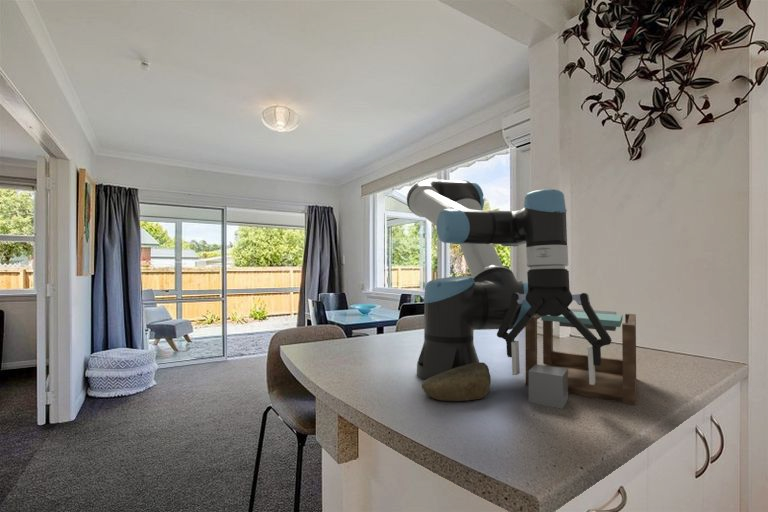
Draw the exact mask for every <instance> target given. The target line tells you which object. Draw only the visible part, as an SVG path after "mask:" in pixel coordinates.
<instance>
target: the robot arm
mask: <svg viewBox="0 0 768 512" xmlns="http://www.w3.org/2000/svg"><path fill="white" fill-rule="evenodd" d="M523 201H524V203H523V208H521V209H519V210H513V211H512V210H511V211H509V210H490V209H489V210H488V209H487V210H484V205H485V199H484V192H483V190H482V188H481V186H480V185H479V184H478V183H477V182H474V181H469V180H449V179H447V180H446V179H435V178H434V179H433V178H432V179H430V178H429V179H424V180H421V181H419V182H417V183H415V184H413V185H412V186H411V188H410V189H409V191H408V192H407V195H406V203H407V207H408V209H409V210H410V212H412V213H413V214H414V215H415V216H417V217H419V218H425V219H426V220H427V221H429V222H430V223H432V224H433V225H434V226H435V227H436V234H437V236H438V239H439V240H440V242H442V243H444V244H453V245H459V246H460V250H461V252H462V255H463V257H464V260H465V262H466V265H467V267H468V271H469V273H470V275H461V276H460V275H459V276H450V277H449V276H448V277H442V278H436V279H431V280H429V281H428V282H427V283H426V284H425V286H424V296H423V297H424V298H423V304H424V306H423V308H424V309H423V310H424V311H423V312H424V316H423V318H424V321H423V324H424V326H423V327H424V328H423V330H424V331H423V332H424V334H423V335H424V336H423V337H424V338H423V344H422V347H421V351H420V353H419V357H418V359H417V363H416V375H417V376H418V377H419V378H421V379H422V380H424V381H425V380H426V379H428V378H430V377H432V376H435V375H438V374H440V373H443V372H445V371H448V370H450V369H453V368H456V367H460V366H464V365H467V364H472V363H478V362H480V360H479V356H478V353H477V350H476V347H475V344H474V343H475V342H474V331H476V330H477V331H481V330H482V331H483V330H484V331H485V330H497V332H496V336H497V337H498V338H500V339H502V340H504V341H505V342H506V356H507V358H511V370H512V371H511V372H512V373H511V374H512V375H511V376H518V375H519V374H520V373H521V372H520V370H521V369H520V344H519V341H520V340H515V339H516V338H517V336H518V335H519V334H520V333H521V332H522V331H523V329H525V326H526V325H527V324H528V323H529V322H530V320H531V319H532V318H533V317H534V316H535V315H536V314H538V315H540V316H546V315H550V316H560V315H563V316H564V317H565V318H566V319H567V320H568V321H569V322H570V323H571V324H572V325H573V326H574V327H573V328H575V329H576V330H577V331H578V332H579V333H580V334H581V335H582V336H583V338H584V339H585V340H586V341H587V342H588V343H589V344H590V345H588V347H587V355H588V366H589V384H590V385H594V384H595V382H596V380H595V365H598V366H600V364H601V357H602V349H601V347H604V346H608V345H611V343H612V342H613V341H612V338H611V336H610V335H609V332H608V330H606V329H605V328H604V326H603V325H602V323H601V321H600V320H599V318H598V316H597V315H596V313H595V311H594V309H593V307H592V305H591V302H590V297H589V296H590V295H589V294H588V293H587V292H581V293H579V294H578V293H576V294H572V292H571V290H570V271H569V270H568V269H567V268H566V267H568V266H569V251H568V250H569V249H568V246H569V245H568V233H567V232H568V230H567V212H568V211H567V207H566V201H565V195H564V193H563V192H562V191H561V190H559V189H552V188H550V189H548V188H547V189H539V190H538V189H537V190H533V191H530V192H527V193H526V195H525V197H524V200H523ZM524 244H525V245H526V246H525V247H526V267H528V268H529V269H528V270H527V272H526V275H527V282H525V281H523V280H520V281H518V280H517V279H516V277H515V275H514V272H513V271H512V270H511V269H510V268H508V267H506V266H504V265H503V263H502V261H501V259H500V256H499V255H498V252H497V250H496V248H495V246H494V245H501V246H503V247H514V248H515V247H519V246H520V245H524ZM573 301H575V302H576V303H577V305H578V306H581V307H582V310H584V311H585V313H586V314H587V316H588V318H589V319H590V321H591V323H592V324H593V326H594V328H595V329H594V330H595V331H596V333H597V334H598V336H599V338H598V337H596V335H595V334H594V333H593V332H592V331H590V330H591V329H588V328H587V327H586V326H585V325H584V324H583V323H582V322H581V321H580V320H579V319H578V318H577V317H576V316H575V315H574V313H573V312H572V311H571V310H570V309H571V308H569V306H570V304H572V302H573ZM509 330H510V331H509ZM508 331H509V332H508Z"/></svg>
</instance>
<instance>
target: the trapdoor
mask: <svg viewBox="0 0 768 512" xmlns="http://www.w3.org/2000/svg"><path fill="white" fill-rule="evenodd" d="M569 309H570V310H571V311H572V312H573V313H574V315H575V316H576V317H577V318H578V319H579V320H580V321H581V322H582V323H583V324H584V325H585V326H586V327H587V328H588V329H589V330H596V329H595V328H594V326H593V324H592V323H591V321H590V319H589V318H588V316H587V314H586V313H585V311H584V309H580V308H579V309H578V308H569ZM593 310H594V309H593ZM594 311H595V313H596V315H597V316H598V318H599V320H600V321H601V323H602V325H603V326H604V328H605V329H606V331H609V332H610V331H611V332H615V331H616V329H617V328H621V327H622V324H623V314H620V313H619V314H618V313H617V311H607V310H594ZM540 319H541V321H542V322H543V321H553V322H556V323H557V322H558V323H559V327H567V328H575V327H574V326H573V325H572V324H571V323H570V322H569V321H568V320H567V319H566V318H565V317H564V316H563V315H560V316H550V315H546V316H541V318H540Z"/></svg>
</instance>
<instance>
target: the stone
mask: <svg viewBox="0 0 768 512" xmlns="http://www.w3.org/2000/svg"><path fill="white" fill-rule="evenodd" d="M491 382H492V379H491V374H490V368H489V366H488V365H487V364H486V363H485V362H481V361H479V362H478V363H472V364H467V365H464V366H460V367H456V368H453V369H450V370H448V371H445V372H443V373H440V374H438V375H435V376H432V377H430V378H428V379H426V380H425V379H424V381H422V385H421V388H422V390H423V392H424V394H425V395H426V396H428V397H430V398H431V399H434V400H437V401H441V402H442V401H445V402H464V401H466V402H467V401H476V400H479V399H484V398H485V397H487V396H488V394H489V392H490V390H491V389H490V388H491V385H492V384H491Z"/></svg>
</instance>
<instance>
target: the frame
mask: <svg viewBox="0 0 768 512" xmlns="http://www.w3.org/2000/svg"><path fill="white" fill-rule="evenodd" d="M624 316H625V317H624V318H625V319H624V321H625V322H624V323H623V322H622V323H621V327H622V328H621V329H622V331H621V332H622V333H621V334H622V336H621V337H622V339H621V340H622V341H621V342H622V343H621V344H622V346H621V347H622V351H621V352H622V359H621V358H620V359H619V358H614V357H613V358H611V357H605V356H604V357H603V356H601V364H600V366H598V365H595V380H596V382H595V384H594V385H590V384H589V366H588V354H580V353H573V352H566V351H556V350H554V321H543V320H542V363H541V365H544V366H551V367H558V368H565V369H568V394H573V395H578V396H583V397H584V396H585V397H591V398H596V399H600V400H601V399H602V400H604V401H605V400H606V401H610V402H611V401H612V402H616V403H617V402H618V403H623V404H628V405H634V406H636V403H637V402H636V400H637V399H636V397H637V396H636V395H637V394H636V393H637V332H636V331H637V319H636V317H637V315H636V313H625V315H624ZM539 319H541V316H540V315H538V314H536V315H535V316H534V317H533V318H532V319H531V320H530V322H529V323H528V324H527V325H526V326H525V327H524V331H525V385H526V386H528V387H529V370H530V369H531V368H532V367H533V366H534V365H535V364H538V320H539Z"/></svg>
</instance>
